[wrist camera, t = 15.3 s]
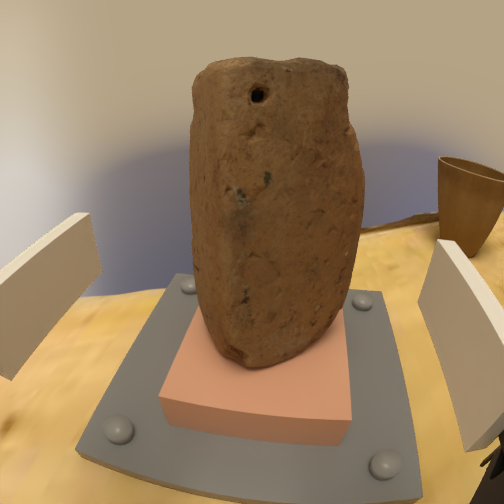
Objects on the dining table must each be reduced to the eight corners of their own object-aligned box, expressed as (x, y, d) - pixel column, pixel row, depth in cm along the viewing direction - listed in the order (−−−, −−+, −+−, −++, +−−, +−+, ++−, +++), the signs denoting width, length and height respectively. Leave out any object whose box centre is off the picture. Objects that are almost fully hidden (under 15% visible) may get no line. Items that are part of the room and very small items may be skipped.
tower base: (378, 301, 38) (388, 263, 35) (414, 502, 15) (449, 476, 13) (177, 282, 41) (173, 245, 38) (82, 457, 19) (52, 423, 16)
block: (226, 385, 21) (214, 48, 11) (194, 320, 27) (177, 64, 17) (350, 338, 25) (395, 73, 15) (303, 291, 31) (320, 70, 21)
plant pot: (464, 232, 58) (480, 161, 50) (503, 268, 45) (527, 186, 37) (409, 229, 57) (423, 150, 50) (446, 270, 44) (471, 174, 37)
